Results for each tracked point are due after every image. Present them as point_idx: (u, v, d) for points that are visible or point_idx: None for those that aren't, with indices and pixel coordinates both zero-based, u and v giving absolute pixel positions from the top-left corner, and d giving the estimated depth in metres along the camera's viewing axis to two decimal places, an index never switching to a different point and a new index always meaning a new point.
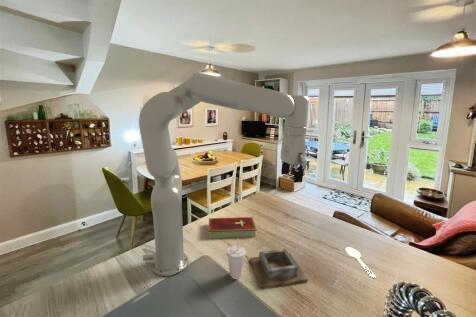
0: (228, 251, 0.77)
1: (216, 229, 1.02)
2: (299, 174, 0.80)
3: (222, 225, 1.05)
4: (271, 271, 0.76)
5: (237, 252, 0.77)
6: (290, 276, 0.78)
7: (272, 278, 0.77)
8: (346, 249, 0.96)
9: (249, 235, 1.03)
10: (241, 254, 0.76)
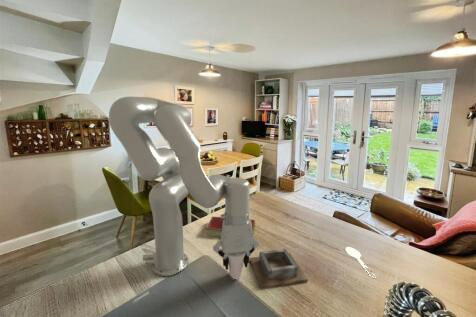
0: None
1: (214, 228, 1.03)
2: None
3: None
4: (271, 271, 0.76)
5: (237, 252, 0.77)
6: (290, 276, 0.78)
7: (272, 278, 0.77)
8: (346, 249, 0.96)
9: None
10: (241, 254, 0.76)
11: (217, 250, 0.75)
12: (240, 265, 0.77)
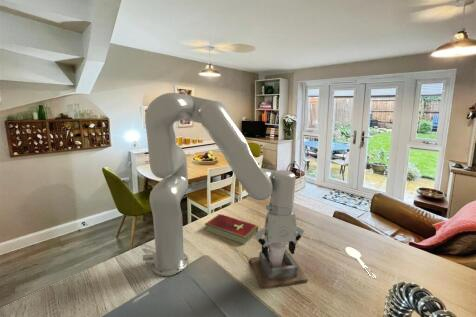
0: (269, 244, 0.80)
1: (212, 224, 1.06)
2: None
3: (221, 223, 1.07)
4: (271, 271, 0.76)
5: (278, 245, 0.79)
6: (290, 276, 0.78)
7: (272, 278, 0.77)
8: (346, 249, 0.96)
9: (239, 241, 0.99)
10: (283, 247, 0.79)
11: (258, 237, 0.78)
12: (281, 257, 0.79)
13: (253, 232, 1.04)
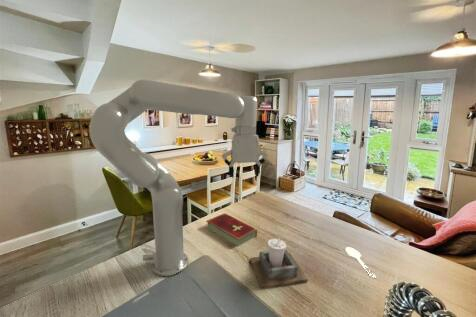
0: (269, 244, 0.80)
1: (212, 222, 1.08)
2: None
3: (221, 222, 1.08)
4: (271, 271, 0.76)
5: (278, 245, 0.79)
6: (290, 276, 0.78)
7: (272, 278, 0.77)
8: (346, 249, 0.96)
9: (233, 242, 0.98)
10: (283, 247, 0.79)
11: (225, 158, 0.85)
12: (281, 257, 0.79)
13: (250, 235, 1.02)
